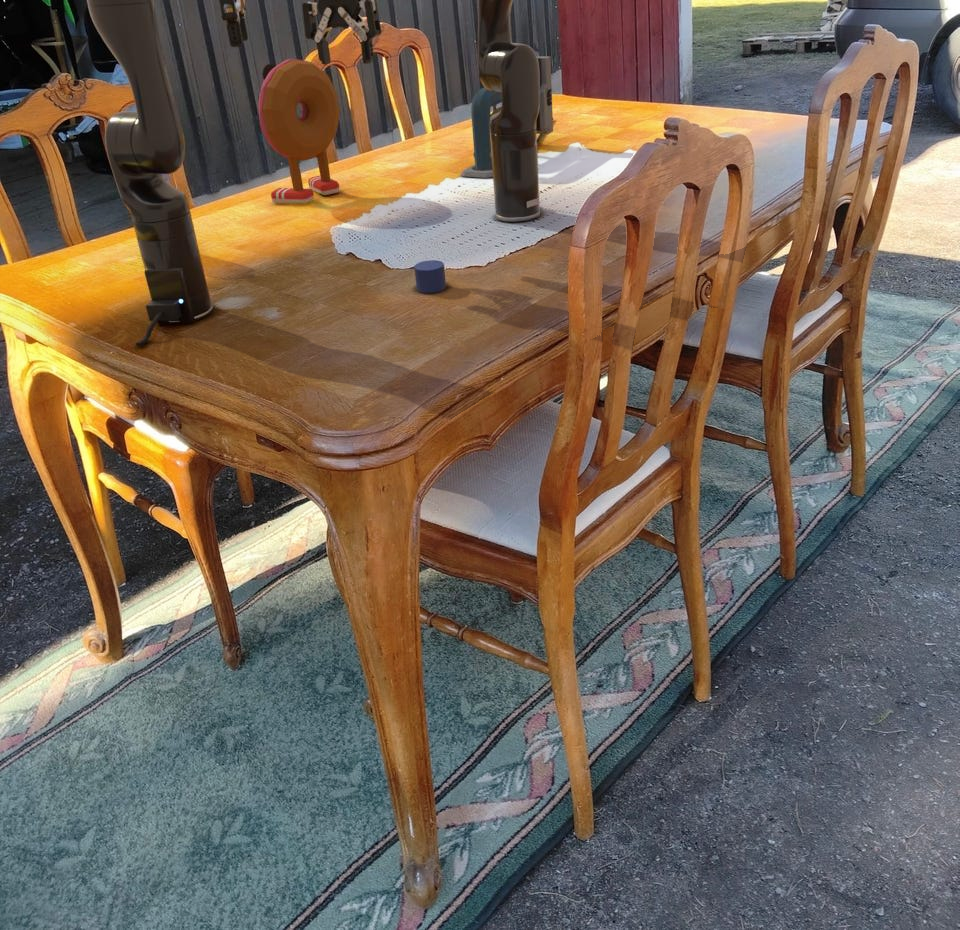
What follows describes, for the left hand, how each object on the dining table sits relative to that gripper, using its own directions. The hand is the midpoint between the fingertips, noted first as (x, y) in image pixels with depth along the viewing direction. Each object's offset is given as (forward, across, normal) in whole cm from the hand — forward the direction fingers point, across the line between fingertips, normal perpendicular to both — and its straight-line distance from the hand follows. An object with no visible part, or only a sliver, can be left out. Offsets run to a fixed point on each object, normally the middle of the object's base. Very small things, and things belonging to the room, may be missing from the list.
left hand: (239, 43), depth 173 cm
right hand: (+5, 0, -18) cm, 19 cm away
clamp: (+38, +55, -54) cm, 86 cm away
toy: (+38, +39, -5) cm, 55 cm away
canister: (+38, -31, -29) cm, 57 cm away
